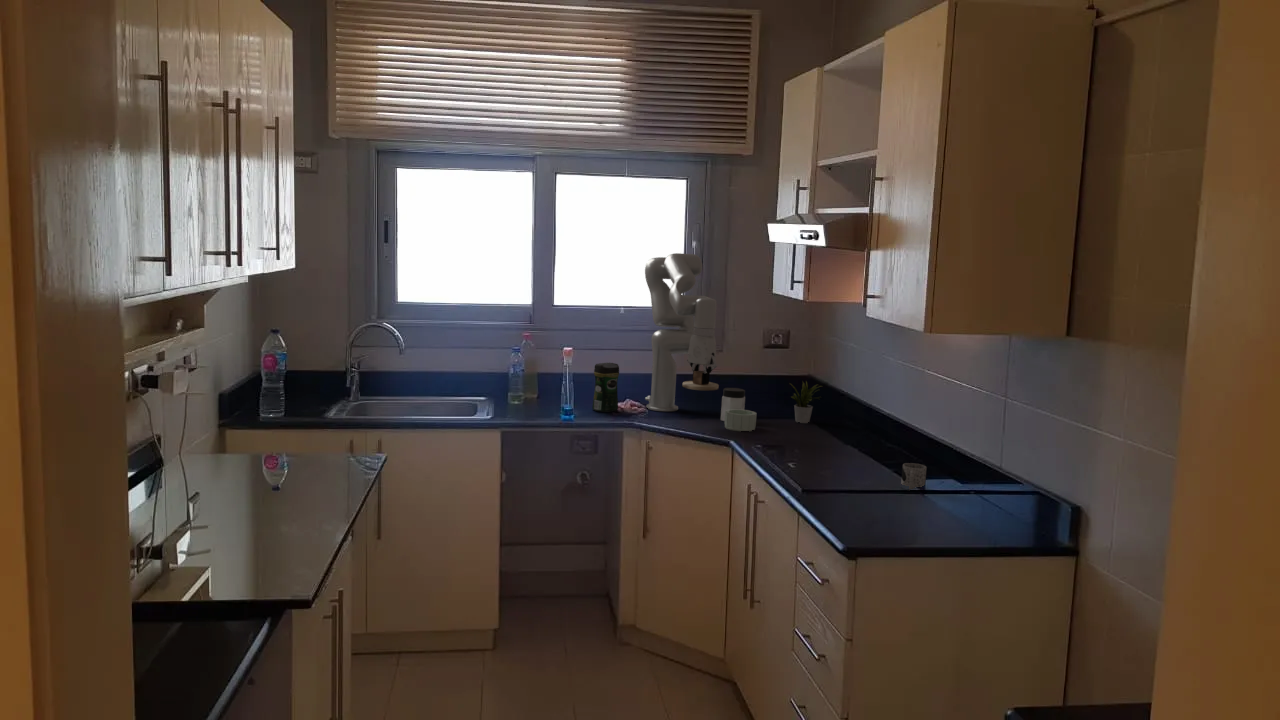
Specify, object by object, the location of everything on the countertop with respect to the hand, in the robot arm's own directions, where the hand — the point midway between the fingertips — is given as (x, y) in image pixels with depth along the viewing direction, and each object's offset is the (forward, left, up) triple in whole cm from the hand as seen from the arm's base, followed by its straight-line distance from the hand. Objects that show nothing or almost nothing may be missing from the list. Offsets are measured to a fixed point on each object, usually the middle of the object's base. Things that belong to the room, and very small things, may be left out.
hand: (700, 382), depth 355 cm
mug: (+94, -9, -17) cm, 96 cm away
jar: (-2, +20, -17) cm, 26 cm away
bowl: (+10, +12, -16) cm, 22 cm away
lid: (0, 0, -2) cm, 2 cm away
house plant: (+14, +44, -17) cm, 49 cm away
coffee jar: (-40, -11, -17) cm, 44 cm away
